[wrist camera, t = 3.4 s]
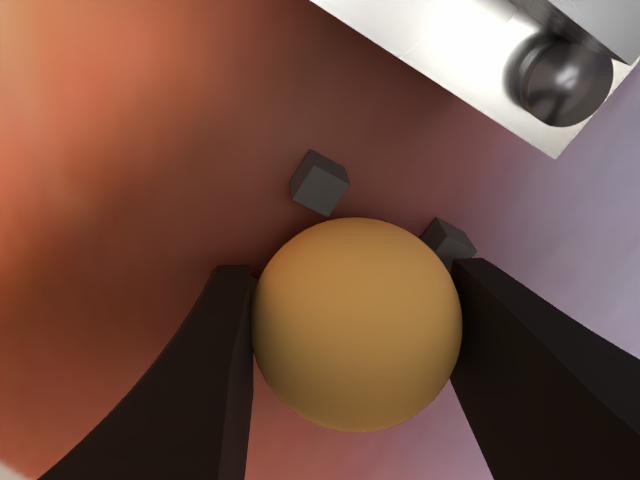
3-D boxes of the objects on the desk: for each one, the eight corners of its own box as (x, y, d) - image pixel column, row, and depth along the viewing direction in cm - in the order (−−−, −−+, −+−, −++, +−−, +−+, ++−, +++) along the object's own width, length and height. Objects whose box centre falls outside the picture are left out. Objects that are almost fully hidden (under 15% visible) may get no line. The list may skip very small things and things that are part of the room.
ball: (463, 231, 12) (548, 358, 8) (364, 353, 13) (401, 501, 10) (310, 149, 10) (335, 260, 7) (219, 295, 12) (204, 444, 9)
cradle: (464, 232, 12) (476, 251, 11) (364, 354, 13) (370, 377, 13) (310, 149, 10) (313, 165, 10) (219, 295, 12) (217, 318, 11)
